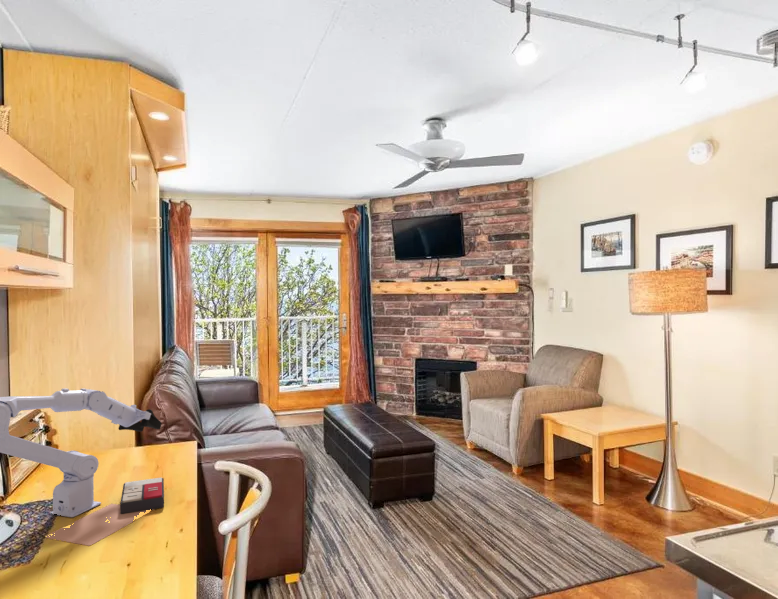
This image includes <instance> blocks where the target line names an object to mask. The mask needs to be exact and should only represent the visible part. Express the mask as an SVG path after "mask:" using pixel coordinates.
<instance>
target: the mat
mask: <svg viewBox="0 0 778 599" xmlns="http://www.w3.org/2000/svg"><path fill="white" fill-rule="evenodd" d="M140 512H144V513H145V512H146V510H144V511H138V512H131V513H125V514H120V504H116V503H109V504H107V505H106V506H104V507H102V508H100V509H98V510H95V511H93V512H92V513H89V514H88V515H85V516H83V517H81V518H79V519H77V520H75V521H73V522H74V524H73V525H72V524H71V523H70V524H71V526H70V528H62V527H61V528H58V529H59V530H58V529H57V530H54V531H55V532H54V531H52V532H50V533H49V534H51V533H52V534H53V535H52V536H51V535H49V536H50V537H49V536H48V534H46V535H47V537H46V538H45V539H47V538H49V540H53V539H56V540H55V541H59V540H61V541H60V542H64V541H66V542H65V543H70V542H71V543H70V544H74V545H75V544H76V545H81V544H82V546H88V547H91V546H93V545H94V544H96V543H98V542H100V541H101V539H102V540H104V539H106V538H107V537H109V536H111V535H112V534H114V533H116V532H117V531H119V530H121V528H122V529H124V528H125V527H127V526H129V525H130V523H131V524H133V523H134V522H133V520H134V516H136V517H137V515H139V513H140ZM106 517H107V518H106ZM110 517H111V518H110ZM107 519H108V520H109V521H110V523H108V522H109V521H107V522H105V521H106V520H107ZM128 524H129V525H128ZM64 529H65V530H64ZM54 533H55V534H54ZM54 535H55V536H54ZM92 544H93V545H92ZM90 545H91V546H90Z"/></svg>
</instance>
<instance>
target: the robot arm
mask: <svg viewBox="0 0 778 599" xmlns="http://www.w3.org/2000/svg"><path fill="white" fill-rule="evenodd" d="M40 409H41V410H42V409H43V410H44V409H51V411H53V412H55V413H66V412H80V411H83V410H88V411H91V412H93V413H95V414H97V415H99V416H100V417H103V418H105V419H107V420H110V421H111V422H110V423H112V424H114V425H119V426H118V430H119V431H126V430H127V431H128V430H129V431H135V432H143V431H144V428H151V429H155V430H161V427H162V421H160V420H159V419H158V418H157V417H156V416H155V414H154V410H152V409H146V410H140V409H139V408H137V405H136V404H131V405H127V404H126V403H124V402H121V401H120V400H117V399H115V398H113V397H111V396H108V395H107V393H106V392H105V391H100V390H96V389H90V388H80V390H76V389H75V390H74V389H73V390H70V389H69V388H61V390H57V391H55V392H54V393H52V394H51V395H32V396H31V395H27V396H25V395H24V396H23V395H20V396H18V395H16V396H15V395H14V396H0V453H1V454H5V455H8V456H12V457H16V458H18V459H23V460H27V461H29V462H30V461H31V462H34V463H39V464H42V465H45V466H50V467H54V468H58V469H59V470H60V472H61V473H63V480H62V481H61V482H60V483H59V484H57V485H55V486H54V488H53V490H52V511H51V512H50V514H51V513H52V514H51V515H54V514H57V515H56V516H60V515H61V516H62V517H68V518H74V517H76V516H79V515H80V514H83V513H84V512H87V511H90V510H91V509H93V508H95V507H98V506H99V505H101V504H102V502H101V501H97V500H96V501H95V499H94V493H95V492H94V489H95V488H94V478H95V477H94V476H95V473H96V472H97V470H98V469H99V464H100V462H99V459H98V458H97V457H96V455H95V456H94V455H92V454H86V453H82V452H80V451H77V450H68V451H65V450H62V449H58V448H55V447H53V446H48V445H45V444H42V443H38V442H35V441H31V440H28V439H25V438H21V437H17V436H14V435H11V434H10V431H9V426H10V422H11V418H15V417H16V416H18V414H20V412H21V411H30V410H40ZM61 516H60V517H61Z"/></svg>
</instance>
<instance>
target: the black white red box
mask: <svg viewBox="0 0 778 599" xmlns="http://www.w3.org/2000/svg"><path fill="white" fill-rule="evenodd" d="M164 479H165V478H164V477H155V478H147V479H141V480H133V481H126V482H124V483H123V485H122V490H121V491H122V492H121V498H120V504H119V505H120V514H125V513H131V512H138V511H144V510H150V509H152V510H155V509H162V508H164V506H165V489H164V488H165V486H164V485H165V480H164Z"/></svg>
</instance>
